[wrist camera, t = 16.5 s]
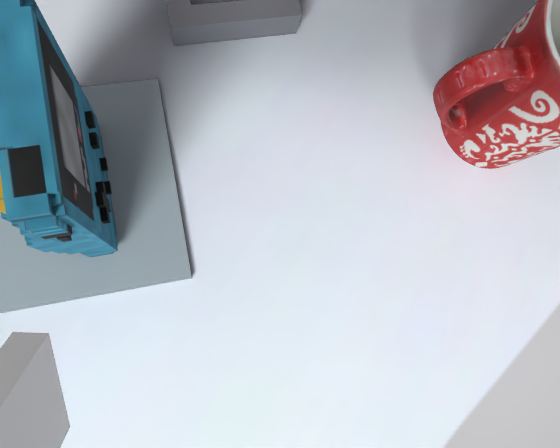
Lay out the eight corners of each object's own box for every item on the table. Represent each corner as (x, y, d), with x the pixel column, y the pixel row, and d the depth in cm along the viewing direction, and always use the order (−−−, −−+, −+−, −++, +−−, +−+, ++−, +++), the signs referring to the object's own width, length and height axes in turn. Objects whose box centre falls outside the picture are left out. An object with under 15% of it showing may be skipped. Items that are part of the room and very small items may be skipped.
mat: (158, 81, 37) (157, 78, 36) (191, 278, 35) (191, 277, 34) (-26, 102, 35) (-29, 99, 34) (0, 313, 33) (-3, 313, 32)
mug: (523, 61, 42) (674, -52, 28) (550, 171, 40) (721, 106, 27) (374, 77, 39) (462, -38, 26) (398, 194, 38) (503, 135, 25)
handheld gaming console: (126, 256, 34) (72, 218, 19) (60, 268, 33) (-48, 238, 19) (103, 115, 35) (36, -22, 21) (39, 123, 35) (-78, -13, 20)
